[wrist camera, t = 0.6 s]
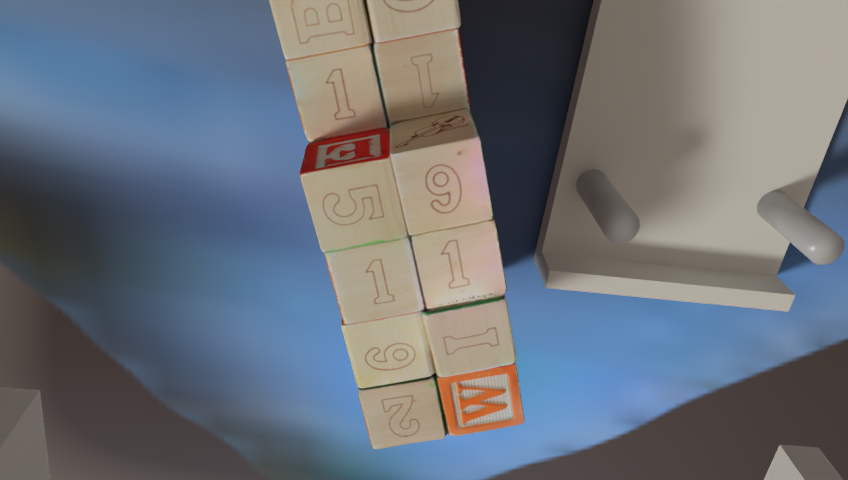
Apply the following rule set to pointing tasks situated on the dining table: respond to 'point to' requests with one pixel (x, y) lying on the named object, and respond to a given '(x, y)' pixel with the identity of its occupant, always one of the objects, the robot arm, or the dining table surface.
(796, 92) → the rack with pegs
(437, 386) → the stack of blocks
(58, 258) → the dining table surface
